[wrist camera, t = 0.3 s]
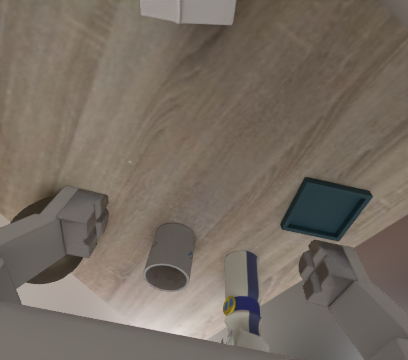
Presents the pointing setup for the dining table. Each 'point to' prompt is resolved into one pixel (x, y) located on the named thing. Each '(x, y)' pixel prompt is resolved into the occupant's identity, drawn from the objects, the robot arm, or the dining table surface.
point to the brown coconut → (60, 266)
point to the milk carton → (190, 11)
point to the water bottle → (243, 301)
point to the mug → (170, 258)
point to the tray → (324, 209)
